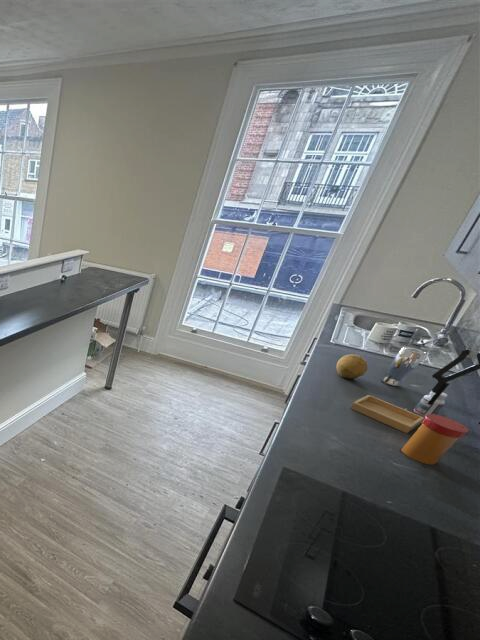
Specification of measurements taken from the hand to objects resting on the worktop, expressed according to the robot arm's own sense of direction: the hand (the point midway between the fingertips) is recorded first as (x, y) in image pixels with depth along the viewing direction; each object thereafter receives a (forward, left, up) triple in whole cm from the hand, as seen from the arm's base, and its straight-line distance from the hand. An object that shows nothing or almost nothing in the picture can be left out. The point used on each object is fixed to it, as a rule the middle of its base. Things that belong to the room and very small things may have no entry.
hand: (455, 413), depth 111 cm
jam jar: (0, 0, -16) cm, 16 cm away
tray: (+14, -20, -16) cm, 29 cm away
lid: (0, 0, -4) cm, 4 cm away
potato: (+34, -44, -16) cm, 58 cm away
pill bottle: (+8, -37, -16) cm, 41 cm away
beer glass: (+23, -57, -16) cm, 64 cm away
